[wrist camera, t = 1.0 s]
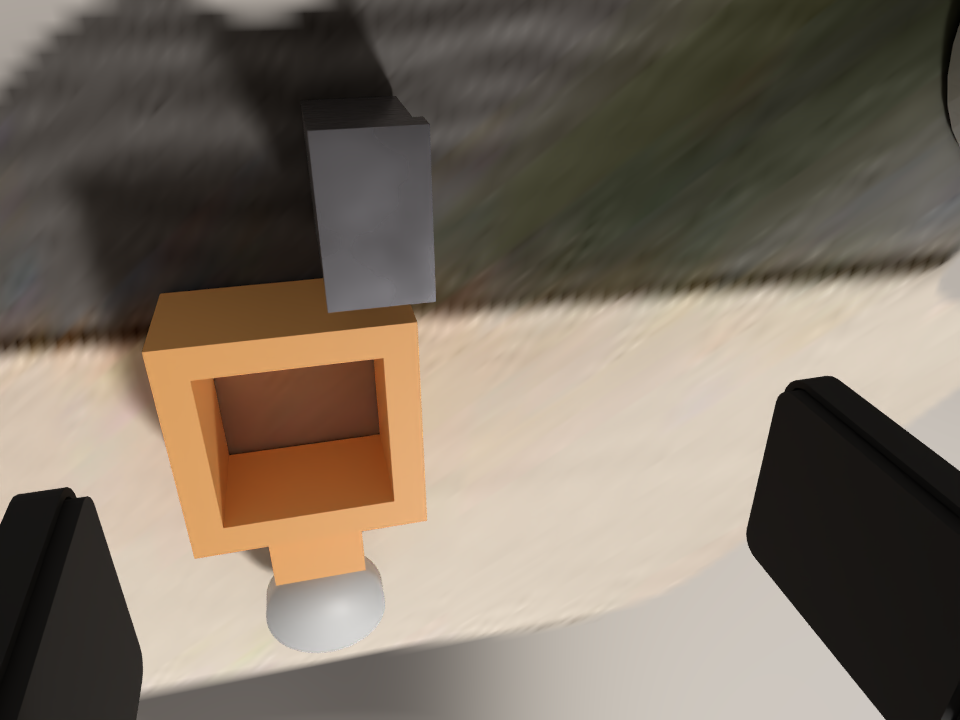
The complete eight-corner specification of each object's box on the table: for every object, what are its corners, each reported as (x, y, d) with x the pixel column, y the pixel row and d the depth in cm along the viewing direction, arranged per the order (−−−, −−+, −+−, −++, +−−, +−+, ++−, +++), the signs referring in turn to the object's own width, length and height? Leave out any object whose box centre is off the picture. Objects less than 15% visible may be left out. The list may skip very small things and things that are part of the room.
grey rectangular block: (394, 83, 26) (429, 124, 20) (403, 229, 28) (435, 301, 23) (298, 87, 25) (307, 131, 19) (316, 237, 27) (328, 312, 22)
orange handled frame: (160, 293, 27) (141, 352, 23) (397, 271, 29) (417, 322, 25) (235, 617, 35) (231, 700, 31) (417, 584, 37) (433, 659, 33)
